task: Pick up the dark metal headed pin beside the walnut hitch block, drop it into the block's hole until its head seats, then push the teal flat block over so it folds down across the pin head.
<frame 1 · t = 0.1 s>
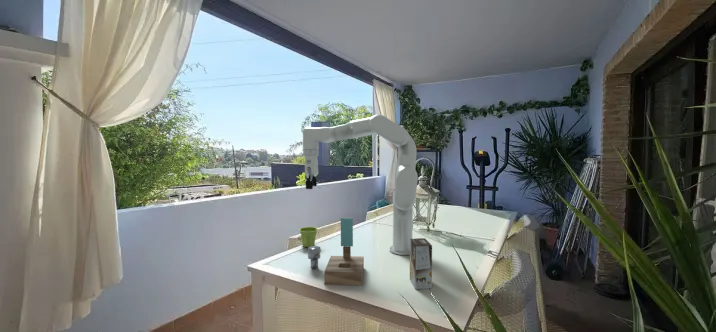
hand: (311, 187, 151), 31 cm above the table, tool pointing down, fingers open, 9 cm apart
hitch block: (345, 275, 122), on the table
pin: (314, 267, 130), on the table
plant pot: (308, 246, 159), on the table
teal flat block: (346, 232, 128), point 16 cm above the table, hinge at 88.0°
coffee box: (420, 283, 115), on the table
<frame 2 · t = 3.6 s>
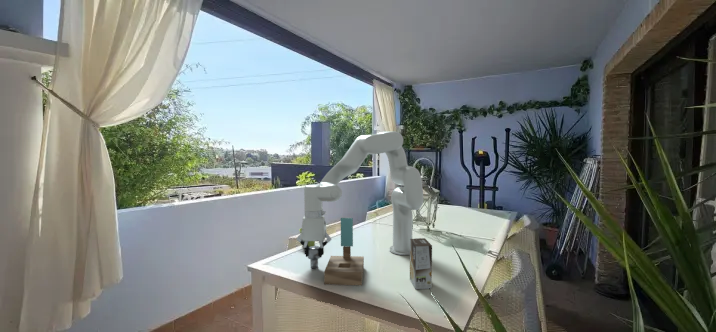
hand: (314, 255, 130), 5 cm above the table, tool pointing down, fingers closed on pin, 5 cm apart
pin: (314, 267, 130), on the table, touching gripper
everything else where it was.
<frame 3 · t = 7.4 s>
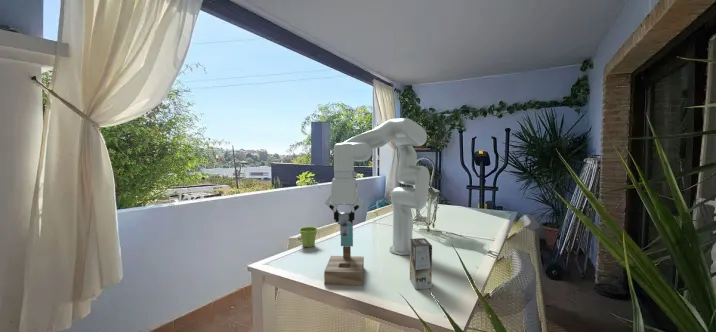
hand: (344, 221, 119), 23 cm above the table, tool pointing down, fingers closed on pin, 5 cm apart
pin: (344, 234, 119), point 17 cm above the table, touching gripper
everything else where it was.
when the fingers open (7 cm above the table, at t = 11.4 s): pin stays where it is, resting on hitch block.
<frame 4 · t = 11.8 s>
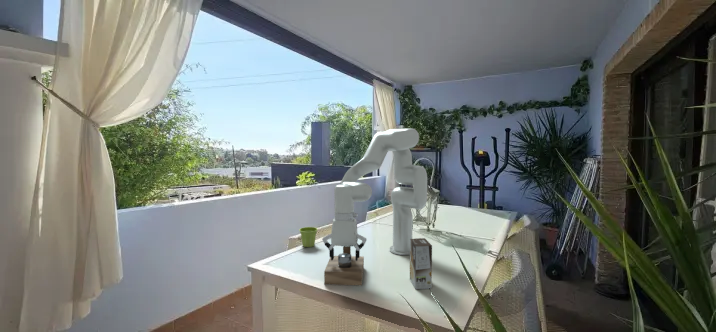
hand: (344, 259, 120), 7 cm above the table, tool pointing down, fingers open, 9 cm apart
pin: (344, 276, 120), resting on hitch block
everything else where it was.
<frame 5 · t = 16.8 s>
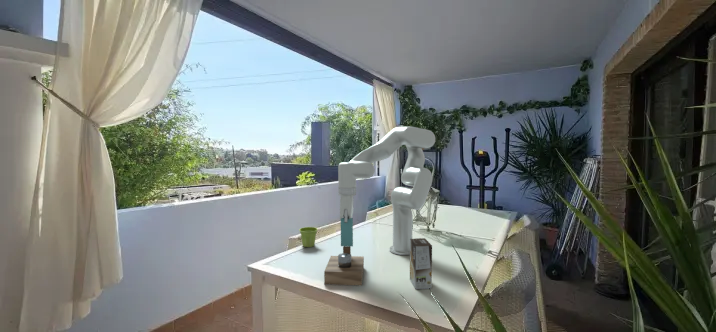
hand: (347, 233, 131), 14 cm above the table, tool pointing down, fingers closed
teal flat block: (346, 232, 128), point 16 cm above the table, hinge at 87.3°, touching gripper
everything else where it was.
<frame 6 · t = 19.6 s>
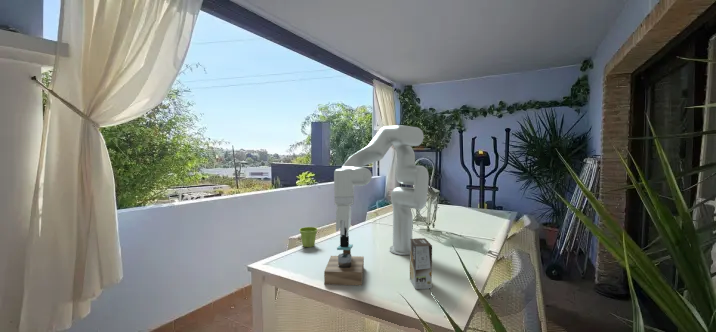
hand: (344, 246, 120), 13 cm above the table, tool pointing down, fingers closed
teal flat block: (345, 247, 122), point 11 cm above the table, hinge at 12.3°, touching gripper
everything else where it was.
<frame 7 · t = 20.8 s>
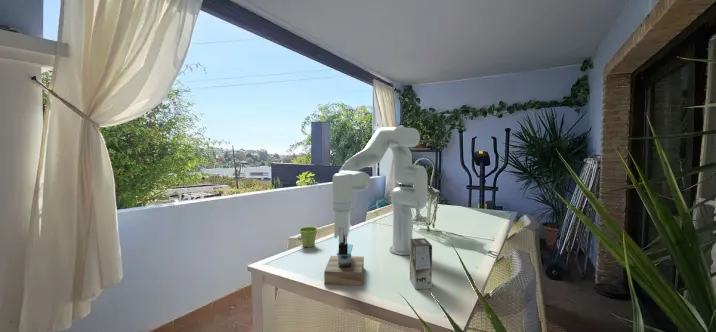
hand: (343, 253, 116), 11 cm above the table, tool pointing down, fingers closed
teal flat block: (345, 249, 122), point 10 cm above the table, hinge at 2.3°, touching gripper
everything else where it was.
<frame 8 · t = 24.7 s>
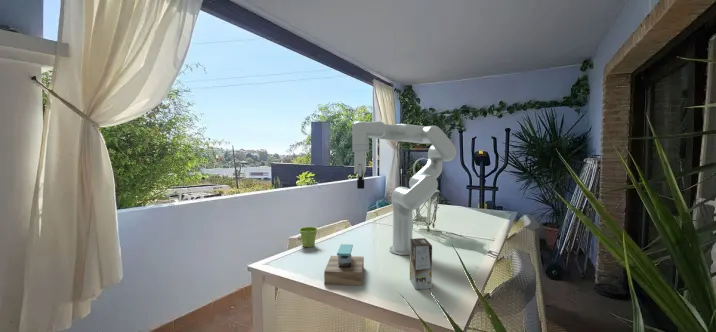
hand: (360, 188, 142), 32 cm above the table, tool pointing down, fingers closed
teal flat block: (345, 249, 122), point 10 cm above the table, hinge at 2.3°
everything else where it was.
at the end: pin 0.1 cm from the target spot on the hitch block, point 0.4 cm above the hitch block's base; pin tilted 0°; teal flat block at +2° (first picture: +88°) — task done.
